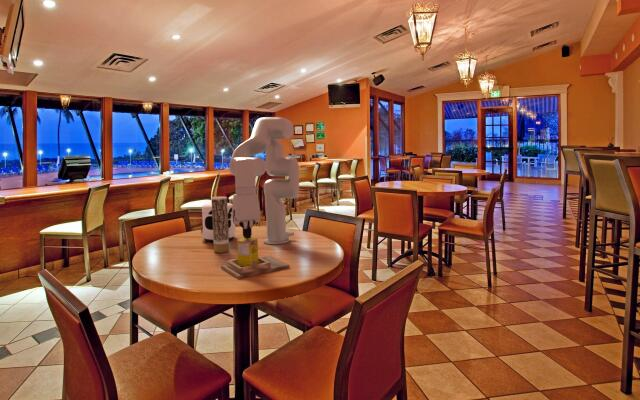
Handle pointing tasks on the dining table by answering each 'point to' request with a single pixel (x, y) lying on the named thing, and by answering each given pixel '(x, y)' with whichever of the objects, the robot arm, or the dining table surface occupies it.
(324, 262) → the dining table surface
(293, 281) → the dining table surface
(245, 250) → the supplement box
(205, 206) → the milk container
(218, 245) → the wooden log
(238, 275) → the board
